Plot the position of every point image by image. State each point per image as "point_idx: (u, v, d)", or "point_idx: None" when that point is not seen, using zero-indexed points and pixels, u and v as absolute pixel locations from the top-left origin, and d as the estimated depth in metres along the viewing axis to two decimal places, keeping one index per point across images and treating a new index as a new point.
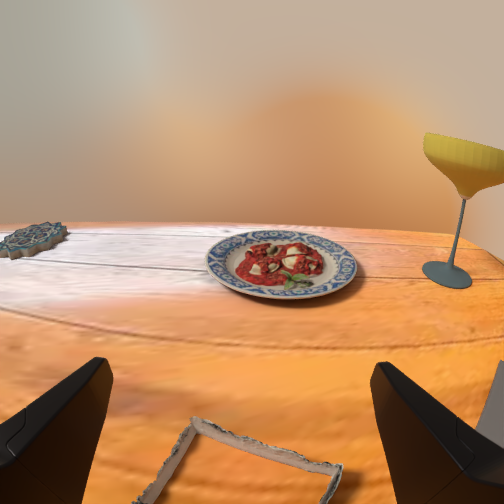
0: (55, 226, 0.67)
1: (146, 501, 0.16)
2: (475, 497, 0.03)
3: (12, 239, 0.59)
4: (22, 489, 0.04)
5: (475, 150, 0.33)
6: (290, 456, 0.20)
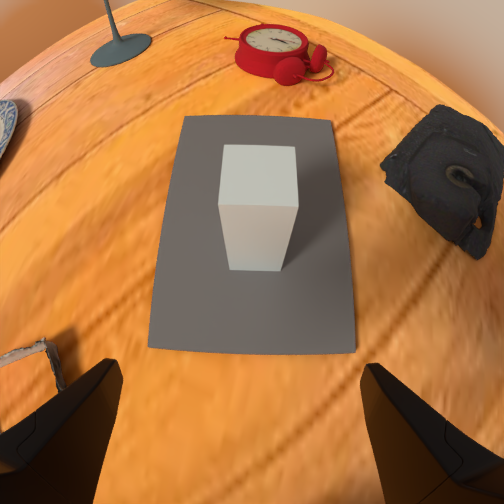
0: None
1: None
2: (462, 503, 0.03)
3: None
4: (34, 495, 0.04)
5: None
6: (19, 352, 0.20)
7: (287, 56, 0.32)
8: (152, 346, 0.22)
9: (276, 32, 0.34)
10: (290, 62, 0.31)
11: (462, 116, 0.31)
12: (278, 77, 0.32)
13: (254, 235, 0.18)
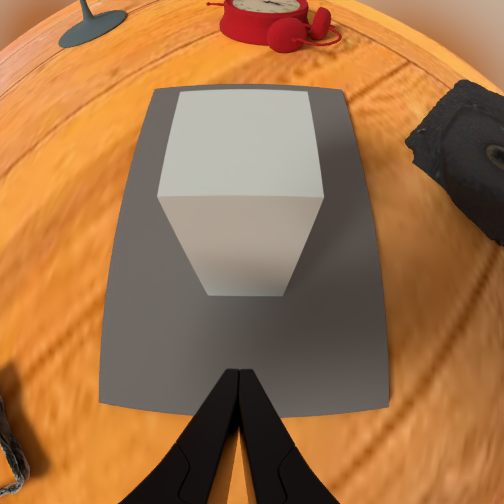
0: None
1: None
2: None
3: None
4: None
5: None
6: None
7: (283, 18, 0.24)
8: (105, 402, 0.14)
9: None
10: (288, 22, 0.22)
11: (490, 92, 0.23)
12: (273, 41, 0.24)
13: (237, 251, 0.10)
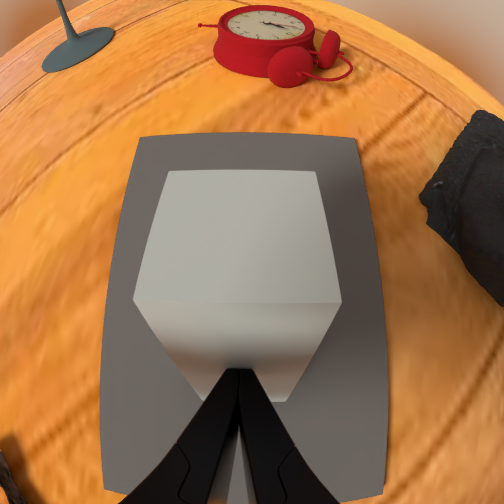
0: None
1: None
2: None
3: None
4: None
5: None
6: None
7: (286, 45, 0.22)
8: (110, 489, 0.12)
9: (268, 15, 0.24)
10: (292, 53, 0.21)
11: None
12: (275, 76, 0.22)
13: (234, 362, 0.08)
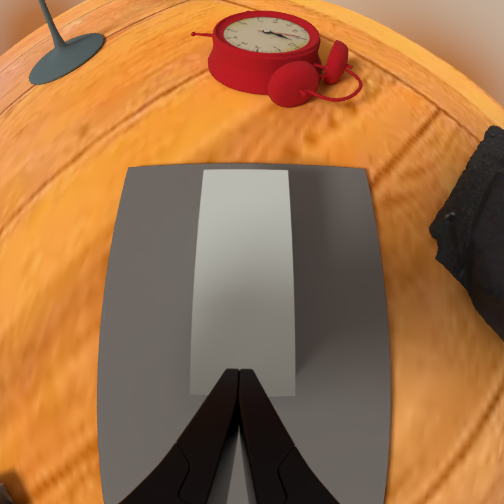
0: None
1: None
2: None
3: None
4: None
5: None
6: None
7: (289, 59, 0.20)
8: None
9: (269, 22, 0.22)
10: (296, 69, 0.19)
11: None
12: (276, 95, 0.20)
13: (240, 237, 0.13)
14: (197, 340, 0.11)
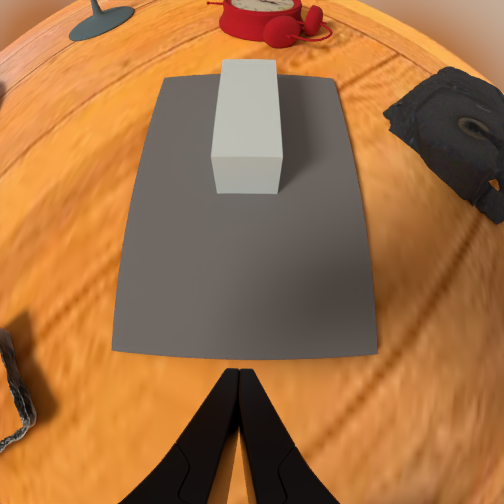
0: None
1: None
2: None
3: None
4: None
5: None
6: None
7: (278, 16, 0.26)
8: (117, 349, 0.17)
9: None
10: (283, 20, 0.24)
11: (473, 77, 0.26)
12: (269, 38, 0.26)
13: (245, 85, 0.19)
14: (218, 129, 0.17)
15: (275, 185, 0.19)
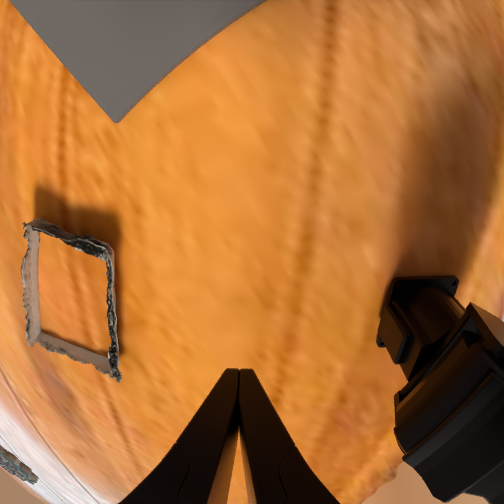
0: None
1: None
2: None
3: (19, 474, 0.44)
4: None
5: None
6: (27, 266, 0.20)
7: None
8: (118, 117, 0.16)
9: None
10: None
11: None
12: None
13: None
14: None
15: None
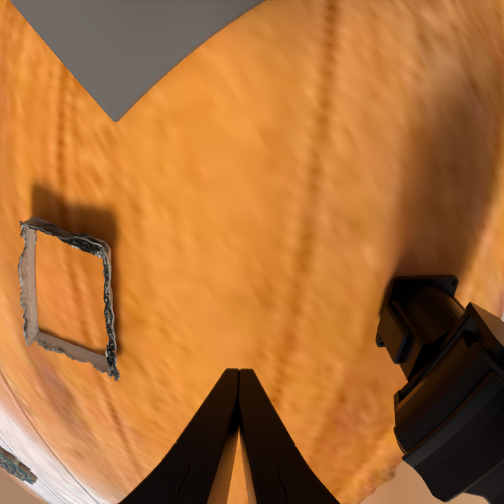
0: None
1: None
2: None
3: (18, 474, 0.44)
4: None
5: None
6: (24, 264, 0.19)
7: None
8: (117, 116, 0.16)
9: None
10: None
11: None
12: None
13: None
14: None
15: None
